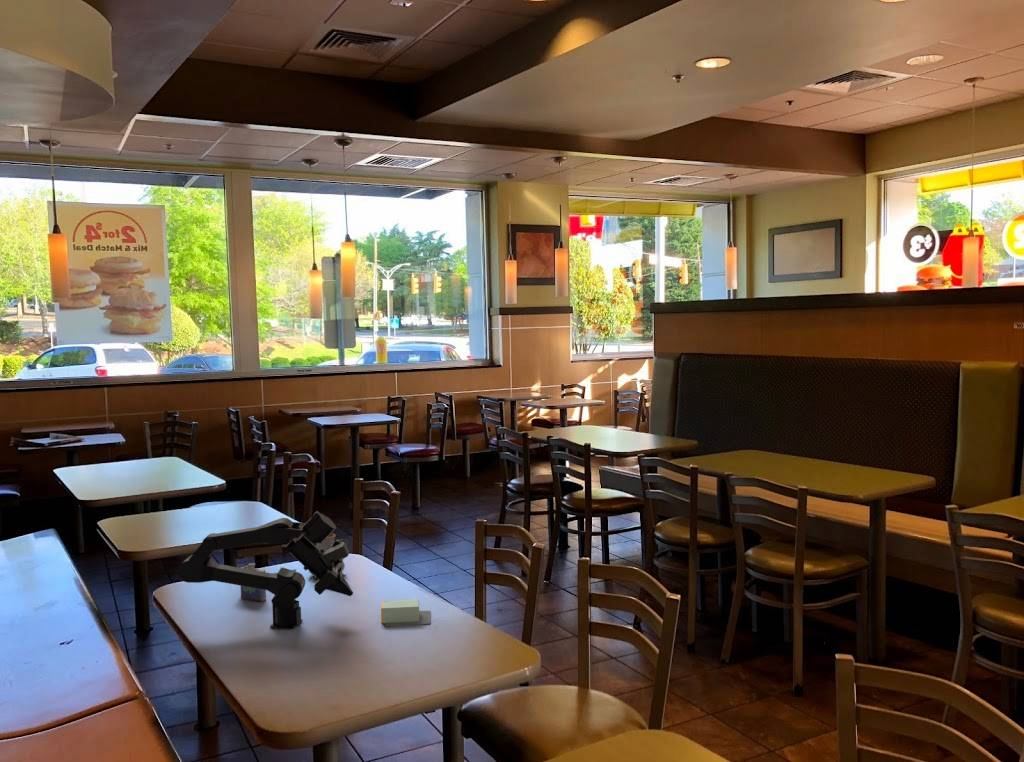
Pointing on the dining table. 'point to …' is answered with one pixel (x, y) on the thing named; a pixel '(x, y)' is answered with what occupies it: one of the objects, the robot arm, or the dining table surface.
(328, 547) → the coffee pot
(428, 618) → the mat
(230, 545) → the robot arm
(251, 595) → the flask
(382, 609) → the block
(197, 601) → the dining table surface
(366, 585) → the dining table surface
